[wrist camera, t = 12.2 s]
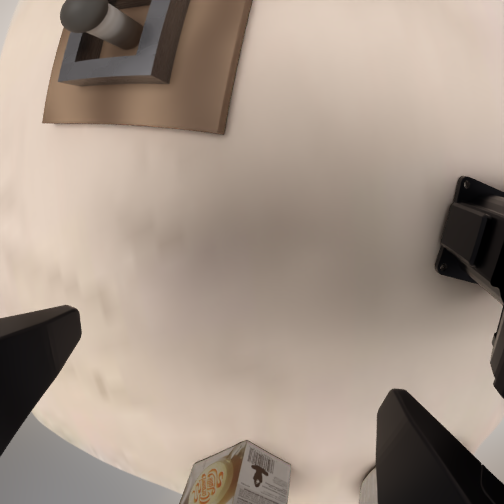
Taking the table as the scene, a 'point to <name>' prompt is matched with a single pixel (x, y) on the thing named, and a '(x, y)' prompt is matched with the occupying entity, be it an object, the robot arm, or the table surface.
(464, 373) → the table surface
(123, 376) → the table surface
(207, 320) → the table surface
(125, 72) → the metal link
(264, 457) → the coffee box
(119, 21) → the square knob plate
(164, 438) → the table surface
